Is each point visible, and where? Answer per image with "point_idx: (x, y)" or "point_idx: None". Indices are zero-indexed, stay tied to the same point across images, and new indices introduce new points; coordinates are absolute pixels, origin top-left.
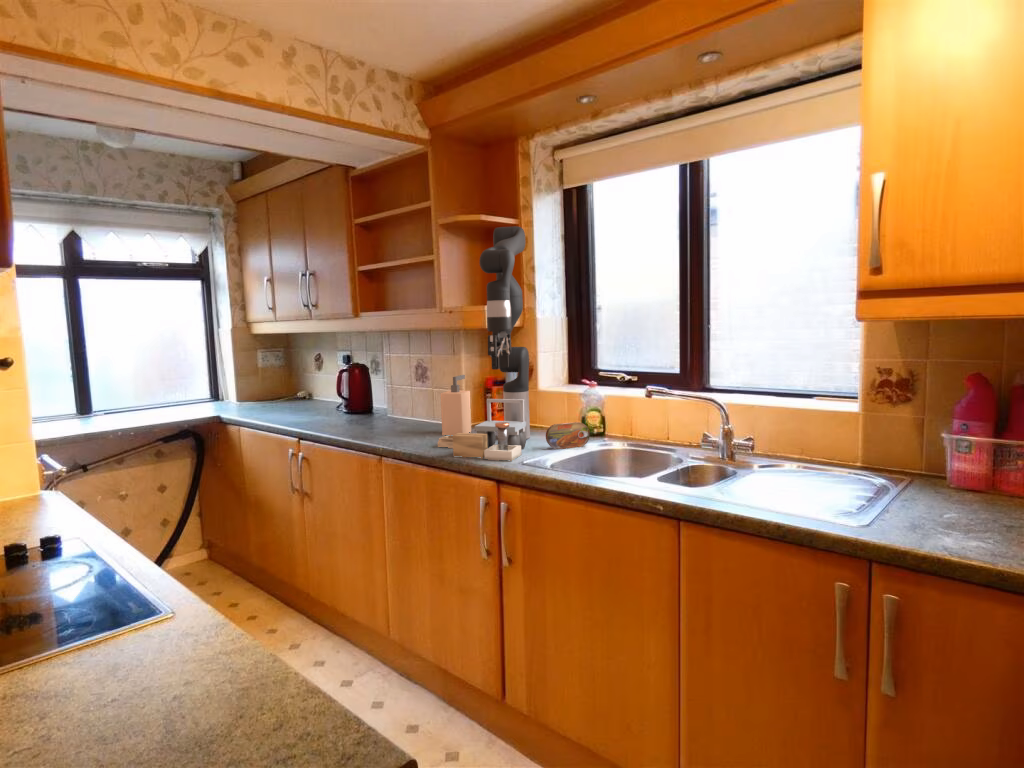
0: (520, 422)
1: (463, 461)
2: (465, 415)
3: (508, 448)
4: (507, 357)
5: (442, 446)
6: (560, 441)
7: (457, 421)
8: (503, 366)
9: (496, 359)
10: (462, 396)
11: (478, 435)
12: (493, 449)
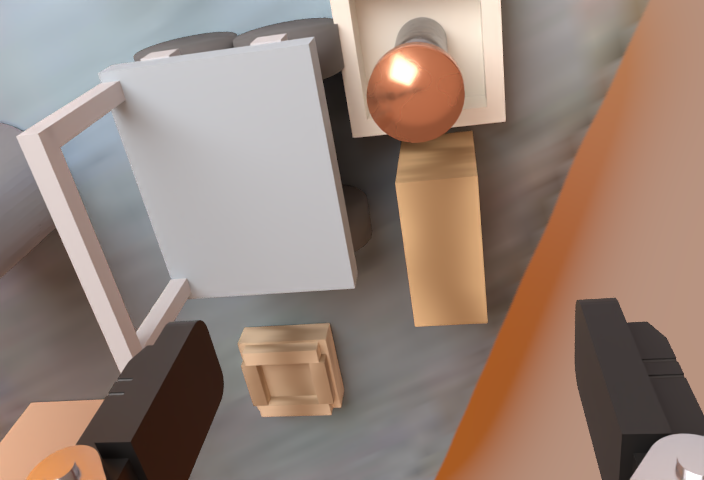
0: (141, 92)
1: (559, 181)
2: (36, 465)
3: (357, 48)
4: (147, 421)
5: (339, 377)
6: None
7: None
8: (216, 374)
9: (687, 420)
10: None
11: (450, 207)
12: None
